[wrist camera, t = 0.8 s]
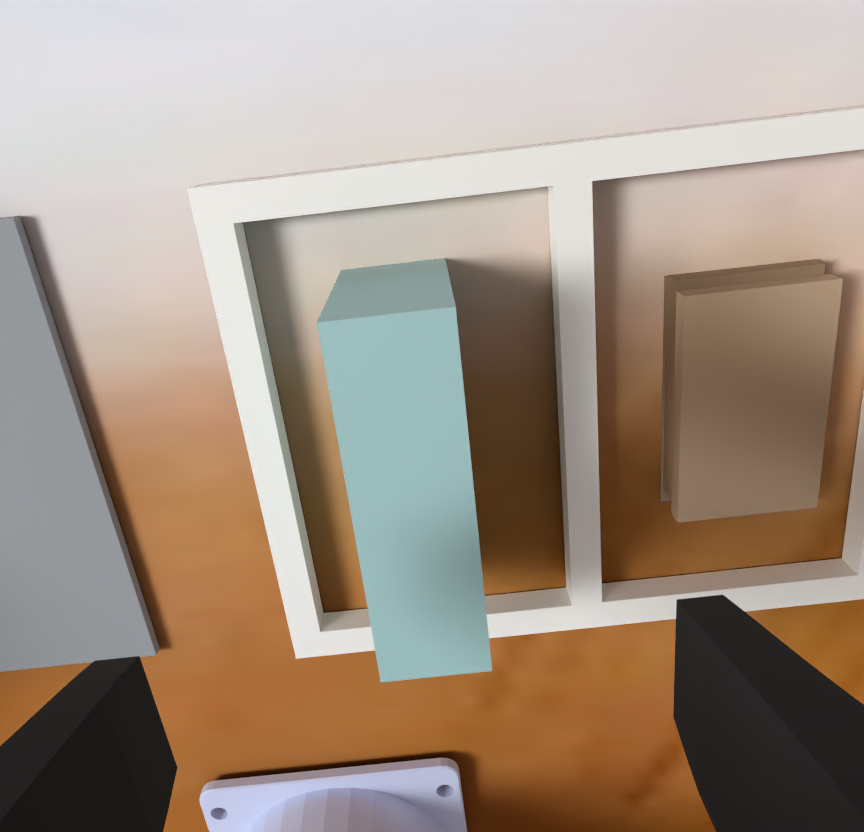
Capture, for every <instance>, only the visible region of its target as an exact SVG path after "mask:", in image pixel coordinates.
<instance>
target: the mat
mask: <svg viewBox="0 0 864 832" xmlns="http://www.w3.org/2000/svg"><path fill="white" fill-rule="evenodd" d="M158 651H159V644H158V641H157V638H156V635H155V632H154V629H153V626H152V623H151V620H150V617H149V613H148V610H147V607H146V604H145V601H144V598H143V595H142V592H141V589H140V586H139V583H138V579H137V576H136V573H135V570H134V567H133V564H132V561H131V558H130V555H129V552H128V548H127V545H126V542H125V539H124V536H123V533H122V530H121V527H120V524H119V521H118V518H117V514H116V511H115V508H114V505H113V502H112V499H111V496H110V493H109V490H108V487H107V483H106V480H105V477H104V474H103V471H102V468H101V465H100V462H99V459H98V456H97V453H96V449H95V446H94V443H93V440H92V437H91V434H90V431H89V428H88V425H87V422H86V418H85V415H84V412H83V409H82V406H81V403H80V400H79V397H78V394H77V391H76V388H75V384H74V381H73V378H72V375H71V372H70V369H69V366H68V363H67V360H66V357H65V353H64V350H63V347H62V344H61V341H60V338H59V335H58V332H57V329H56V326H55V323H54V319H53V316H52V313H51V310H50V307H49V304H48V301H47V298H46V295H45V292H44V288H43V285H42V282H41V279H40V276H39V273H38V270H37V267H36V264H35V261H34V258H33V254H32V251H31V248H30V245H29V242H28V239H27V236H26V233H25V230H24V227H23V223H22V220H21V217H20V216H15V217H6V218H0V672H3V671H12V670H22V669H31V668H41V667H50V666H60V665H69V664H79V663H88V662H94V661H97V660H106V659H116V658H125V657H135V656H139V657H145V656H155V655H157V653H158Z"/></svg>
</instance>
